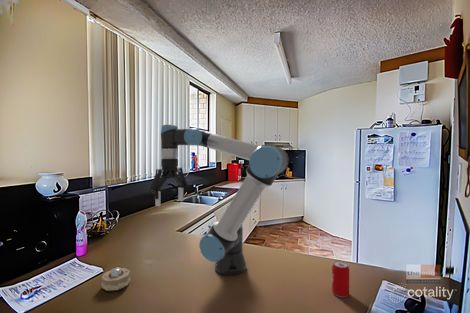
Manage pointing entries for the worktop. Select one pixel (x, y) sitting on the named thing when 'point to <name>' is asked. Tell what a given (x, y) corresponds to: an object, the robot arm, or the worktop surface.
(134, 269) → the worktop surface
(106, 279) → the ring
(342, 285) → the beverage can
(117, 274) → the post
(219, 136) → the robot arm
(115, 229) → the worktop surface
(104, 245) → the worktop surface
